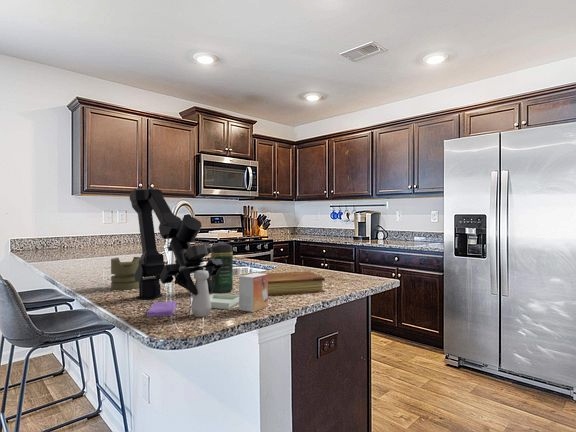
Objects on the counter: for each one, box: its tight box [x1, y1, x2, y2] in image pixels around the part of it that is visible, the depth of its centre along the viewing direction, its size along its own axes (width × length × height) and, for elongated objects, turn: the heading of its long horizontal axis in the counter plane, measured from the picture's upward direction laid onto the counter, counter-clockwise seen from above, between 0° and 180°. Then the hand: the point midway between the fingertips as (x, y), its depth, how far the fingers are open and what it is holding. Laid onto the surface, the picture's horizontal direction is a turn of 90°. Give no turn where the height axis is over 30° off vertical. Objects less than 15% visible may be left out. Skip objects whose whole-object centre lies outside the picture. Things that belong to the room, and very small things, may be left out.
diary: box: [264, 270, 326, 296], centre depth 143 cm, size 23×19×6 cm
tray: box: [209, 293, 239, 310], centre depth 119 cm, size 12×12×2 cm
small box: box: [238, 272, 269, 313], centre depth 113 cm, size 8×6×10 cm
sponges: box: [146, 300, 178, 318], centre depth 111 cm, size 7×13×2 cm, turn 11°
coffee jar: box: [210, 242, 234, 294], centre depth 140 cm, size 10×8×19 cm
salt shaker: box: [190, 270, 212, 318], centre depth 105 cm, size 6×6×13 cm
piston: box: [110, 256, 141, 291], centre depth 146 cm, size 11×12×11 cm
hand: (203, 293), depth 104 cm, fingers open, 4 cm apart
